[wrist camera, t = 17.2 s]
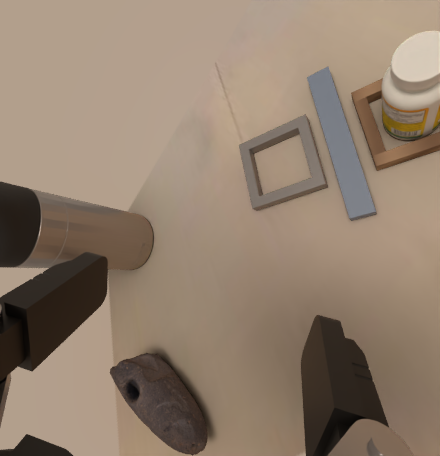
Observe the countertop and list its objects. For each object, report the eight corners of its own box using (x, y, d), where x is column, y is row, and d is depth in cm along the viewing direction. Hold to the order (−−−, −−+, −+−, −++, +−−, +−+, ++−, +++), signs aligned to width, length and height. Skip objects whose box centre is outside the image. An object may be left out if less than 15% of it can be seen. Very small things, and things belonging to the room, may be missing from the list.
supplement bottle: (397, 151, 30) (400, 104, 22) (373, 111, 32) (367, 54, 23) (457, 122, 28) (485, 57, 19) (427, 81, 29) (442, 6, 21)
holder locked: (377, 170, 31) (376, 166, 29) (352, 100, 33) (351, 93, 32) (484, 135, 26) (488, 128, 25) (447, 57, 29) (450, 47, 28)
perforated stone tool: (226, 423, 35) (193, 453, 29) (204, 453, 36) (168, 488, 30) (155, 336, 43) (118, 346, 37) (139, 363, 44) (99, 376, 38)
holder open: (257, 210, 37) (252, 208, 36) (243, 149, 39) (238, 145, 38) (328, 187, 33) (325, 183, 32) (308, 120, 35) (305, 114, 34)
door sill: (376, 214, 30) (375, 211, 29) (351, 220, 31) (349, 218, 30) (330, 74, 35) (328, 66, 33) (309, 84, 36) (306, 77, 35)
